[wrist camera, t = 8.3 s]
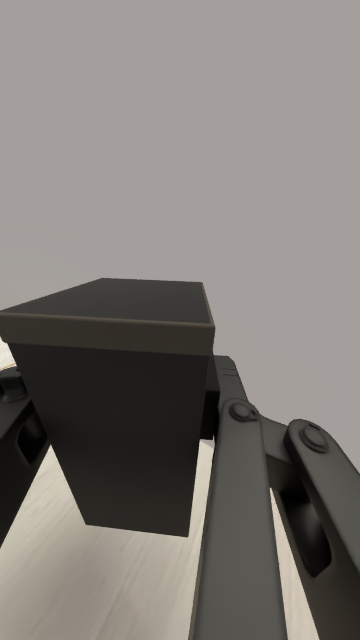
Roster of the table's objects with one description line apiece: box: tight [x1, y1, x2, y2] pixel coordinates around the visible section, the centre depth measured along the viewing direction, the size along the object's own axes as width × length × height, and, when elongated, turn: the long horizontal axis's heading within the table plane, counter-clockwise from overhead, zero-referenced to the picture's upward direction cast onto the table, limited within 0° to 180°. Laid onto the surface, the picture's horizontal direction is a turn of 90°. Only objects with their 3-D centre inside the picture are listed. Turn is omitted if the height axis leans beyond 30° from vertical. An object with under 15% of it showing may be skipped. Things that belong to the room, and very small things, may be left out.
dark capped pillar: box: [0, 278, 215, 537], centre depth 8 cm, size 5×5×11 cm
